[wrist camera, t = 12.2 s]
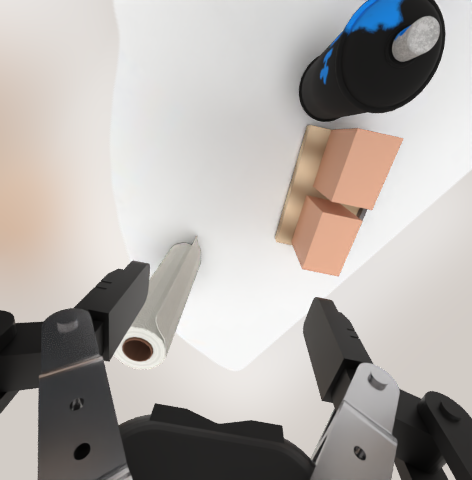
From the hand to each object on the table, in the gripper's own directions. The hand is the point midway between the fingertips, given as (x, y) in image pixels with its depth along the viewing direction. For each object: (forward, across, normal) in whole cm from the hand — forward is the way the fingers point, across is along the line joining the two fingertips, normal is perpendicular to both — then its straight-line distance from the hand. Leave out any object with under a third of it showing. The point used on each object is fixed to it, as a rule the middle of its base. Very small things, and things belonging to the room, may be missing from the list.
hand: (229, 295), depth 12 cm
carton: (+28, -12, +4) cm, 31 cm away
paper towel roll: (+30, +7, +15) cm, 35 cm away
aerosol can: (+30, -9, -15) cm, 35 cm away
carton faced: (+28, -13, -6) cm, 32 cm away
